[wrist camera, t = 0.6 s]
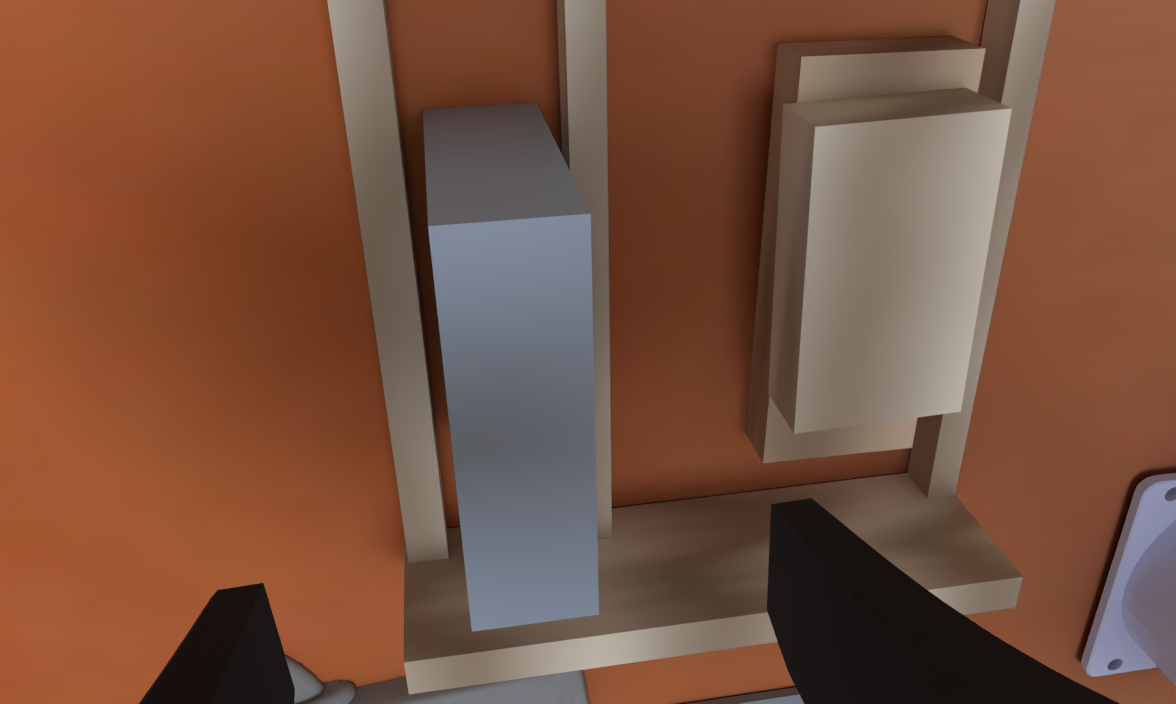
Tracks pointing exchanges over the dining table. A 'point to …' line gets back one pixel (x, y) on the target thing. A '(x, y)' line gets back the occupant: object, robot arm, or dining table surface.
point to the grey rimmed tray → (526, 700)
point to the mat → (761, 698)
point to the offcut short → (881, 254)
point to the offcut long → (797, 79)
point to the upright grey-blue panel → (515, 360)
